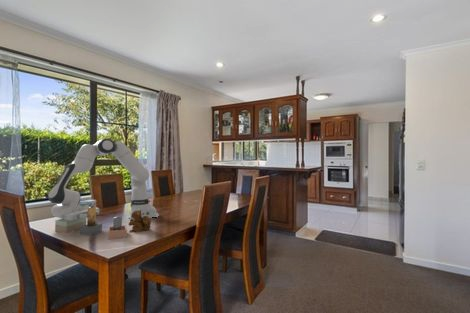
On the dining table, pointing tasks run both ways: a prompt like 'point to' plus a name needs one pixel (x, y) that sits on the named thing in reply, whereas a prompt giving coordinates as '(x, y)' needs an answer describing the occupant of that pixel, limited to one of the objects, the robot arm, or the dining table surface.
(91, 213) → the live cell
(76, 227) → the trough
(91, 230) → the cradle
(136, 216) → the stuffed squirrel
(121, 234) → the pink square tray
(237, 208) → the dining table surface
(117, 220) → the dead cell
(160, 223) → the dining table surface
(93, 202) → the light bulb box
